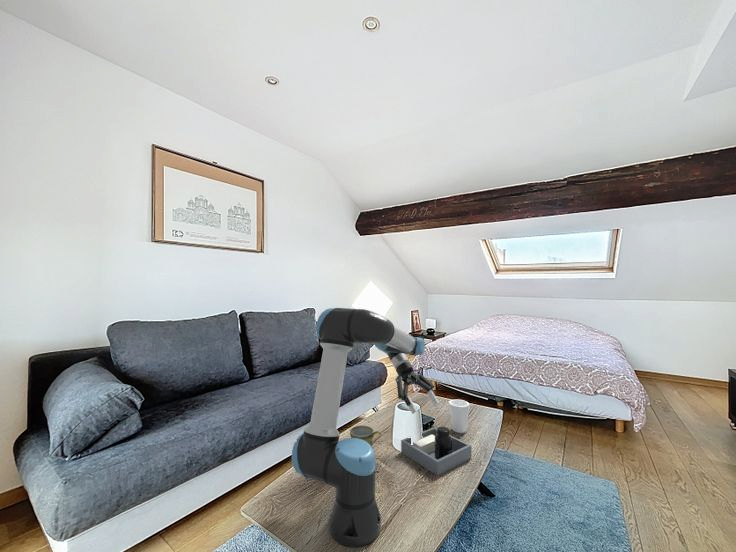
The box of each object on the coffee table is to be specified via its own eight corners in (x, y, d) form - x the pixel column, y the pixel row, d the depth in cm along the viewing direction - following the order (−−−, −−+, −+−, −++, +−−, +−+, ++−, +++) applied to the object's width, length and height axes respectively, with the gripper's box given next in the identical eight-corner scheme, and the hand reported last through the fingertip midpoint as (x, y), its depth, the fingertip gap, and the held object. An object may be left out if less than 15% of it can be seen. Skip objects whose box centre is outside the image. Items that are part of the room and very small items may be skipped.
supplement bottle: (452, 465, 122) (452, 433, 122) (434, 463, 124) (434, 432, 124) (451, 455, 129) (451, 426, 129) (434, 453, 130) (434, 424, 130)
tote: (437, 478, 115) (437, 462, 115) (401, 454, 131) (401, 440, 132) (471, 460, 127) (471, 445, 127) (434, 440, 143) (433, 427, 143)
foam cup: (447, 425, 159) (447, 399, 159) (466, 425, 158) (466, 399, 159) (451, 434, 149) (451, 406, 150) (471, 434, 149) (471, 406, 149)
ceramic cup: (349, 461, 126) (349, 436, 127) (350, 448, 136) (350, 425, 137) (381, 461, 127) (381, 435, 127) (379, 448, 137) (379, 424, 137)
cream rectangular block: (420, 457, 128) (420, 447, 128) (412, 451, 132) (412, 442, 132) (440, 448, 135) (440, 438, 135) (432, 443, 139) (432, 434, 139)
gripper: (417, 366, 156) (441, 406, 143) (377, 374, 141) (400, 420, 129) (425, 357, 152) (450, 397, 139) (385, 365, 137) (408, 411, 125)
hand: (426, 408), depth 134 cm, fingers open, 13 cm apart
